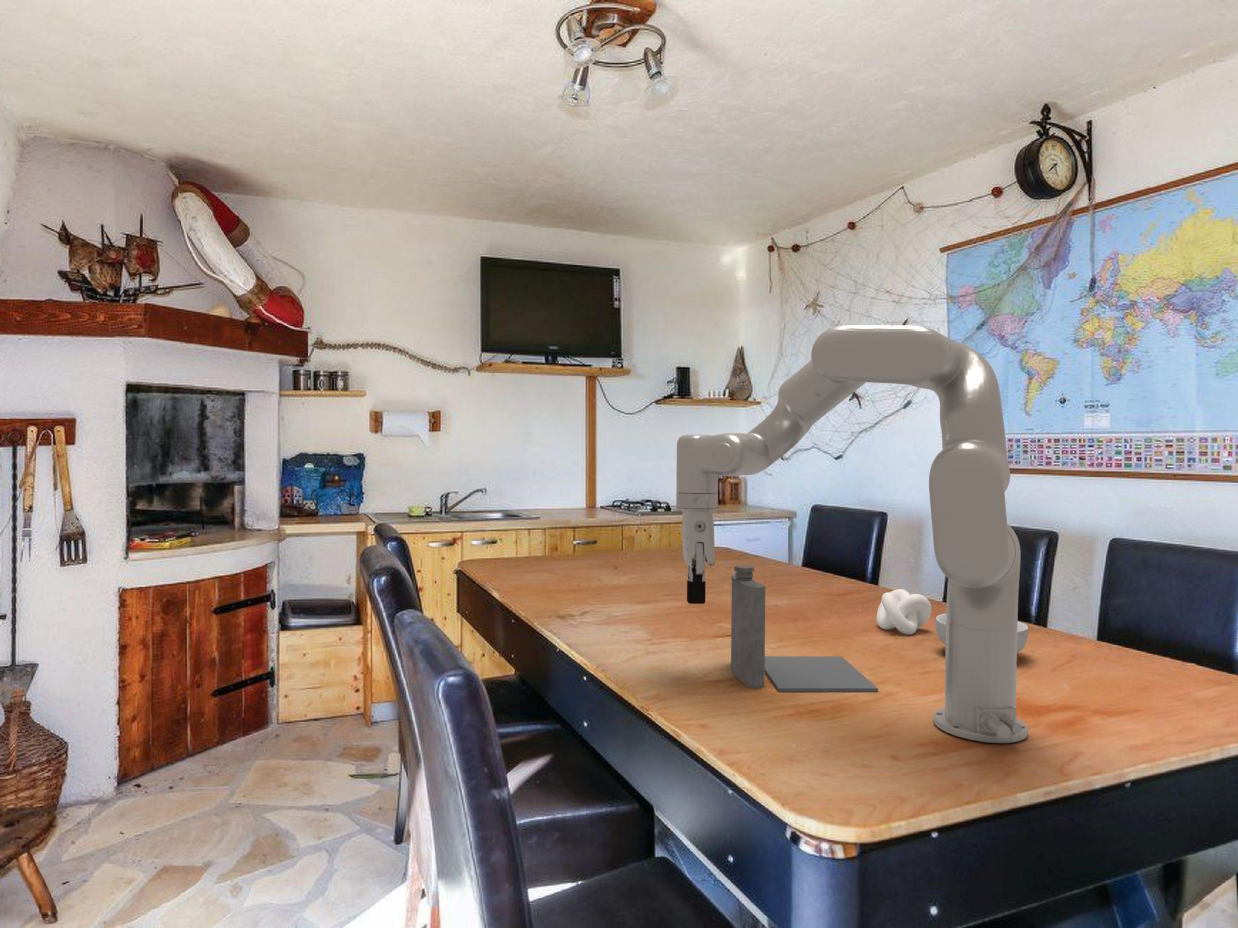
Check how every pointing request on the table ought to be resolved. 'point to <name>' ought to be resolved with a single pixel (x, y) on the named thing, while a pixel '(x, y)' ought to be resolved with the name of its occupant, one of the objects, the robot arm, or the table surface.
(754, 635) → the hip flask
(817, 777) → the table surface
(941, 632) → the cereal bowl
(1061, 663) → the table surface
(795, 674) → the mat
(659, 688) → the table surface
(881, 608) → the white decorative knot
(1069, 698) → the table surface
